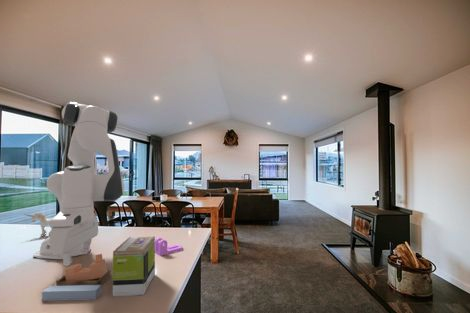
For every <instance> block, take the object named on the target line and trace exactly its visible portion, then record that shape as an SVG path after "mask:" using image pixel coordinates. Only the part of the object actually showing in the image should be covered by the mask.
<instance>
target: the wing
mask: <svg viewBox="0 0 470 313" xmlns="http://www.w3.org/2000/svg"><path fill="white" fill-rule="evenodd" d="M101 294H102V285H74V286H56V285H50V286H48V287H47V288H45V289H44V290H43V291H41V301H75V300H77V301H79V300H80V301H81V300H97V298H98V297H99V296H100V295H101Z"/></svg>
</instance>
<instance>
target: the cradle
mask: <svg viewBox="0 0 470 313" xmlns="http://www.w3.org/2000/svg"><path fill="white" fill-rule="evenodd" d="M111 276H112V270H107V273H106V274H105V275H104V276H103V277H101V278H97V279H92V280H86V281H66V277H65V274H64V275H63V276H61V277H60V278H58V279H57V280H56V281H55V286H74V285H101V286H102V285H104V283H106V281H108V279H109V278H111Z"/></svg>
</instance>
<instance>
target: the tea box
mask: <svg viewBox="0 0 470 313" xmlns="http://www.w3.org/2000/svg"><path fill="white" fill-rule="evenodd" d="M155 240H156V237H155V236H136V237H135V236H134V237H131V236H129V237H128V238H126V240H125V241H123V242H122V243H121V244H120V245H119V246H118V247H116V248H115V250H113V252H112V296H113V297H131V296H143V295H145V293H146V291H147V289H148V287H149V285H150V284H151V282H152V281H153V278H154V277H155V274H156V273H155V272H156V262H155V261H156V253H155Z"/></svg>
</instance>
